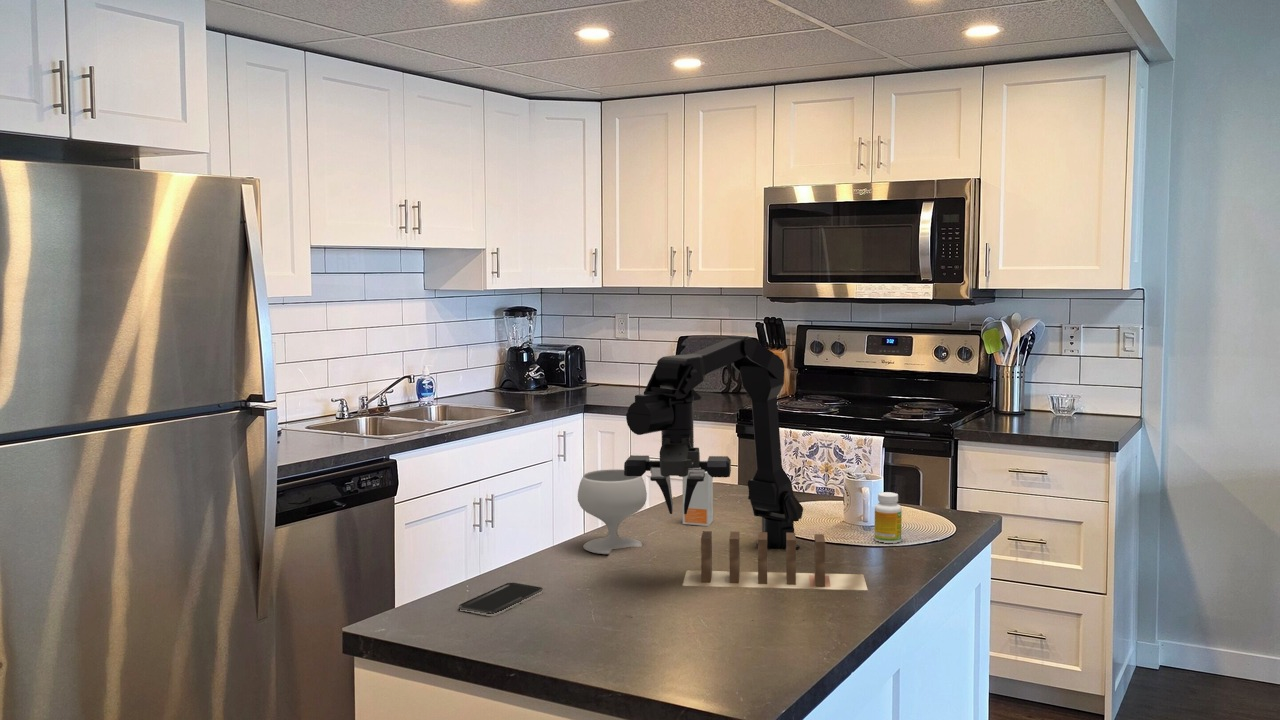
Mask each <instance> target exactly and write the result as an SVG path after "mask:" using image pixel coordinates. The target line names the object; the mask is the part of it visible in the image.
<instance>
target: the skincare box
mask: <svg viewBox="0 0 1280 720" xmlns="http://www.w3.org/2000/svg"><path fill="white" fill-rule="evenodd" d="M688 475H689V474H688ZM688 475H687V476H685V477H682V525H692V526H700V527H701V526H704V527H709V526H710V525H711V524H712V523H713V520H714V517H713V516H714V515H713V514H714V513H713V509H714V508H713V507H714V504H713V503H714V502H713V501H714V499H713V489H714V487H713V484H714V483H713V479H714V477H711V476H710V475H709V474H708V473H707V472H705V478H704V481H702V482H697V485H696V487H695V489H694V491H693V494H692V497H691V500H690V504H689V507H688V511H687V514H684V502H685V494H686V484H687V477H688Z"/></svg>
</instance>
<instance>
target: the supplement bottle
mask: <svg viewBox="0 0 1280 720" xmlns="http://www.w3.org/2000/svg"><path fill="white" fill-rule="evenodd" d="M877 500H878V503H876V504H875V506H874V534H873V535H874V540H875V541H876V542H877V541H879V542H878V543H880V542H884V543H883V544H885V543H893V544H898V543H897V542H899V543H901V541H902V520H903V519H902V516H903V515H902V512H903V511H902V506H901V505H900V504H898V502H899V494H898V493H897V492H896V493H895V492H890V491H889V492H888V491H885V492H884V491H883V492H879V493H878V494H877Z"/></svg>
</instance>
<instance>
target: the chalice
mask: <svg viewBox="0 0 1280 720" xmlns="http://www.w3.org/2000/svg"><path fill="white" fill-rule="evenodd" d="M642 476H643V475H642ZM642 476H624V469H618V468H617V469H616V468H615V469H611V468H610V469H599V470H592V471H589V472H588V471H587V473H586V472H585V473H584V474H583V476H582V477H581V480H580V481H579V485H578V489H577V502H578V504H579V506H580V509H582V510H583V511H584V512H586V513H587V514H589V515H591V516H592V517H594V518H596V519H598V520H600V521H602V522H603V523H604V524H605V525H606V528H607V530H608V533H607V535H606V537H600V538H594V539H592V540H588V541H587V542H585V543H584V544H583V545H582V546H583V547H582V548H583V549H584V550H585V551H588V552H591V553H593V554H599V555H600V554H602V555H610V554H611V552H612V551H613V549H614V550H615V549H616V550H617V549H618V550H619V549H625V548H630V547H641V548H642V547H644V544H643V543H642V542H641V541H640V540H638V539H636V538H631V537H625V536H623V537H622V536H619V534H618V533H619V532H618V529H619V526H620V524H621V523H622V522H624V520H626V519H627V518H629V517H631V516H633V515H634V514H636V513H638V512H639V511H640V510H642V509H643V507H644V506H645V504H646V502H647V497H648V493H647V488H646V484H645V481H644V479H643V477H642Z"/></svg>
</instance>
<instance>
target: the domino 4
mask: <svg viewBox="0 0 1280 720" xmlns="http://www.w3.org/2000/svg"><path fill="white" fill-rule="evenodd" d="M796 544H797V538H796V532H794V533H786V549H785V550H786V554H785V555H786V556H785V557H786V561H785V564H786V569H785V573H786V580H787V585H796V573H797V563H796V561H797V549H796Z"/></svg>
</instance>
